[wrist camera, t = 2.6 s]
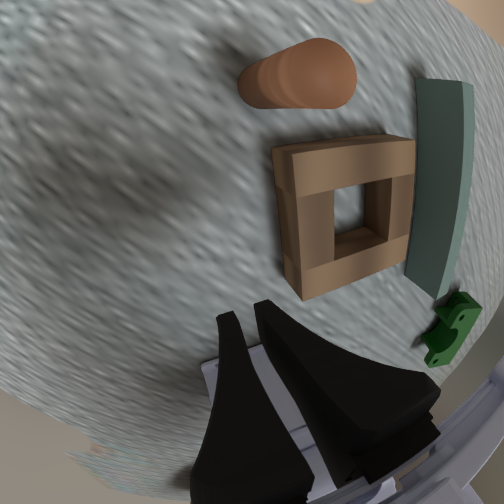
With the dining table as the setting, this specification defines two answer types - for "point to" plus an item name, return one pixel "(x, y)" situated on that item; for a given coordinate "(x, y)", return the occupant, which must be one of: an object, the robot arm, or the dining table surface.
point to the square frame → (322, 208)
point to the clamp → (451, 329)
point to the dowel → (300, 77)
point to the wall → (441, 181)
